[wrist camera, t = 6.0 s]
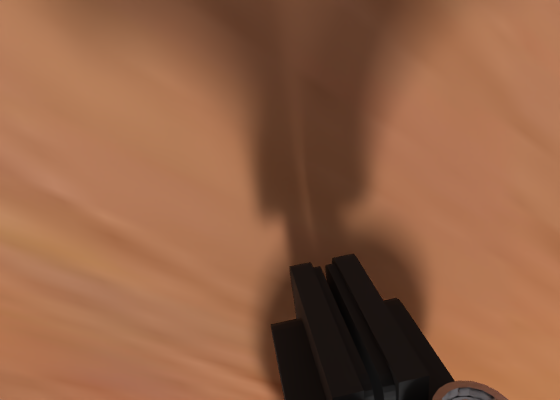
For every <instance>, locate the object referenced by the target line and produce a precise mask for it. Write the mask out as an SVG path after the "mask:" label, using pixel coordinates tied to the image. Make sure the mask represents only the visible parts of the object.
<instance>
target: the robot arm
mask: <svg viewBox="0 0 560 400" xmlns="http://www.w3.org/2000/svg"><path fill="white" fill-rule="evenodd" d="M325 268H326V278H325V276H324V274H323V272H322V269H321V267H320V266H318V267H313V266H312V264H311V263H310V262H309V263H304V264H299V265H294V266H290V276H291V283H292V290H293V297H294V304H295V310H296V317H297V319H294V320H289V321H285V322H280V323H275V324H271V329H272V335H273V340H274V346H275V351H276V357H277V362H278V368H279V373H280V378H281V383H282V389H283V394H284V399H285V400H508V399H507V398H505V397H504V396H503V395H502V394H500V393H499V392H498V391H496V390H494V389H492V388H490V387H488V386H486V385H484V384H481V383H477V382H473V381H454V379H453V378H452V376H451V375H450V373H449V372H448V370H447V369H446V367H445V366H444V365H443V363H442V362H441V360H440V359H439V357H438V356H437V354H436V353H435V351H434V350H433V348H432V347H431V345H430V344H429V342H428V341H427V339H426V338H425V336H424V335H423V334H422V332H421V331H420V329H419V328H418V326H417V325H416V323H415V322H414V320H413V319H412V317H411V316H410V314H409V313H408V311H407V310H406V308H405V307H404V305H403V304H402V303H401V302H400V300H399V299H397V298H394V299H389V300H384V301H383V300H382V298H381V296H380V295H379V293H378V291H377V290H376V288H375V287H374V285H373V283H372V282H371V280H370V278H369V277H368V275H367V274H366V272H365V270H364V269H363V267H362V265H361V264H360V262H359V261H358V259H357V257H356V256H355V255H354V254H350V255H344V256H339V257H334V258H332V264H328V265H326V267H325ZM326 279H327V281H326Z"/></svg>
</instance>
